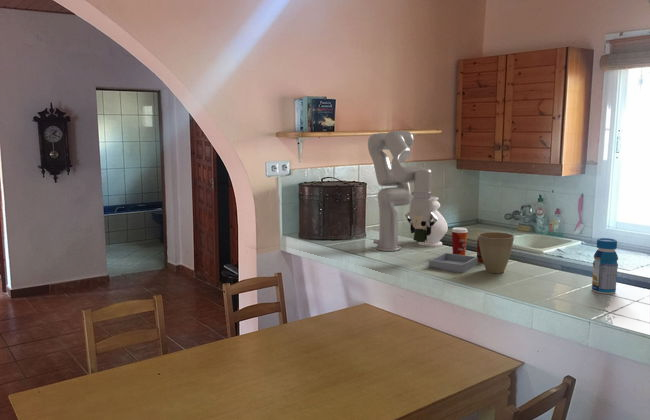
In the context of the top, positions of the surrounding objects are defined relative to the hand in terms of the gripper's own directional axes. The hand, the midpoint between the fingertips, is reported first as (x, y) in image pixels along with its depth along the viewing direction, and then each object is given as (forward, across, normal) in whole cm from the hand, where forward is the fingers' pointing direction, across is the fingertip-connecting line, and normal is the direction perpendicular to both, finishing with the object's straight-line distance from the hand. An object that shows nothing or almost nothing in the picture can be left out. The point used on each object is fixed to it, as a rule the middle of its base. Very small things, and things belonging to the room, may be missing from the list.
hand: (420, 233), depth 256 cm
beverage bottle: (+11, +78, -3) cm, 79 cm away
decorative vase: (+15, -14, +40) cm, 45 cm away
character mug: (+4, 0, 0) cm, 4 cm away
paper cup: (+14, +11, +19) cm, 26 cm away
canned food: (+13, +24, +19) cm, 34 cm away
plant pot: (+13, +34, +3) cm, 37 cm away
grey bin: (+13, +16, +1) cm, 21 cm away
